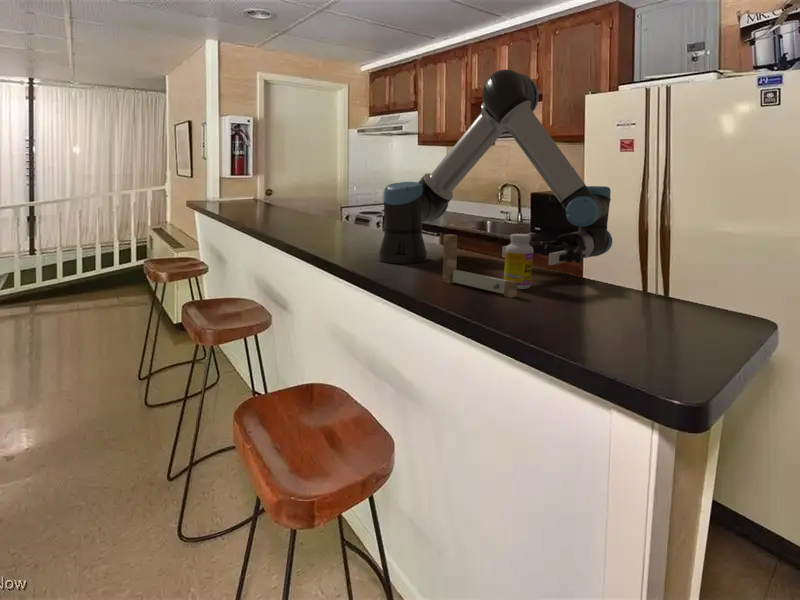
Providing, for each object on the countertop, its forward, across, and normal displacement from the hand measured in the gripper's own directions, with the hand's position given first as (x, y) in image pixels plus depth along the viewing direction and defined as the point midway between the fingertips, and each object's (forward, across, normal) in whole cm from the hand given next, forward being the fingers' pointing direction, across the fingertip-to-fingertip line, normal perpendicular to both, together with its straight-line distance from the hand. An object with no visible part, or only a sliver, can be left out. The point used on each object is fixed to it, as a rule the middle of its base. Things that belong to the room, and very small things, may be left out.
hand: (525, 255), depth 130 cm
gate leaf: (+11, +5, -7) cm, 14 cm away
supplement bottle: (+2, +1, -8) cm, 8 cm away
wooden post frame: (+11, +6, -8) cm, 14 cm away
